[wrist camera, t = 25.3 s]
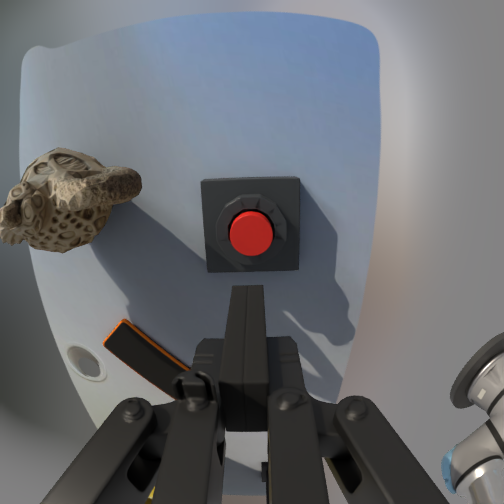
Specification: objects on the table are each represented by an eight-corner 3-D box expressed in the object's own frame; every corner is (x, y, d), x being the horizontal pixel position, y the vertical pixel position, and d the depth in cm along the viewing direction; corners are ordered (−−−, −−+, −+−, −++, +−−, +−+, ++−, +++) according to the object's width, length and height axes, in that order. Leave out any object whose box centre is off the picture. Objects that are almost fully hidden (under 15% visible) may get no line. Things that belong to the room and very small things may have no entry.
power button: (271, 210, 27) (272, 214, 26) (271, 249, 29) (272, 255, 27) (230, 211, 28) (228, 215, 26) (232, 250, 29) (230, 256, 27)
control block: (296, 176, 30) (302, 179, 26) (295, 263, 33) (301, 277, 29) (204, 179, 30) (196, 183, 26) (210, 265, 33) (205, 279, 30)
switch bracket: (290, 476, 52) (293, 518, 40) (261, 478, 52) (262, 520, 40) (293, 460, 49) (298, 507, 37) (261, 462, 49) (262, 510, 37)
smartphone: (124, 316, 36) (122, 319, 35) (213, 383, 40) (212, 387, 39) (102, 342, 38) (100, 345, 37) (184, 402, 42) (183, 406, 41)
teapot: (45, 248, 33) (-25, 294, 19) (26, 172, 29) (-53, 193, 15) (175, 218, 31) (118, 271, 17) (155, 120, 28) (81, 101, 13)
